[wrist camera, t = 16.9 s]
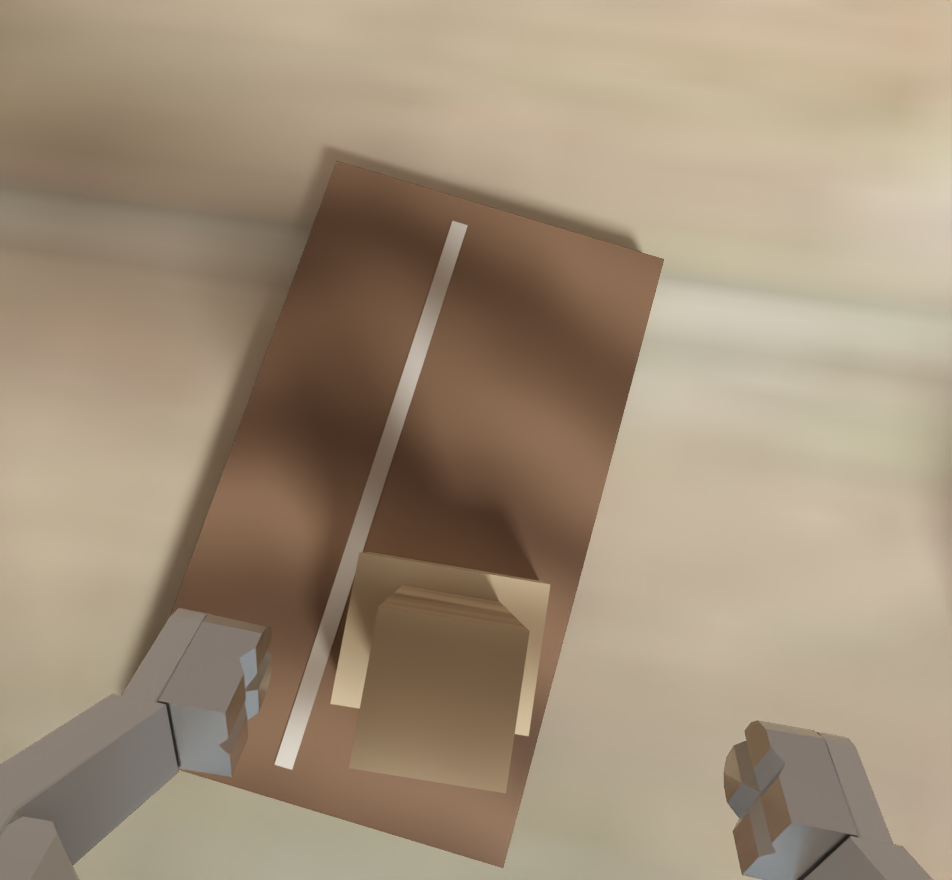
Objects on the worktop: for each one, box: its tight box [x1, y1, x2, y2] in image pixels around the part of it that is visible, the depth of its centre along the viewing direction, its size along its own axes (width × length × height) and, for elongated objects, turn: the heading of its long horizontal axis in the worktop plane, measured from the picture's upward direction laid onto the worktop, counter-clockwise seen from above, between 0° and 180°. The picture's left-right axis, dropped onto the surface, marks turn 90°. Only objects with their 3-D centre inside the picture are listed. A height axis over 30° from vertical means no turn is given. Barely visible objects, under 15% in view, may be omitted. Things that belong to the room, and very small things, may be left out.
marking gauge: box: [330, 552, 550, 793], centre depth 18 cm, size 4×6×10 cm
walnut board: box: [170, 161, 664, 868], centre depth 24 cm, size 22×13×2 cm, turn 163°
